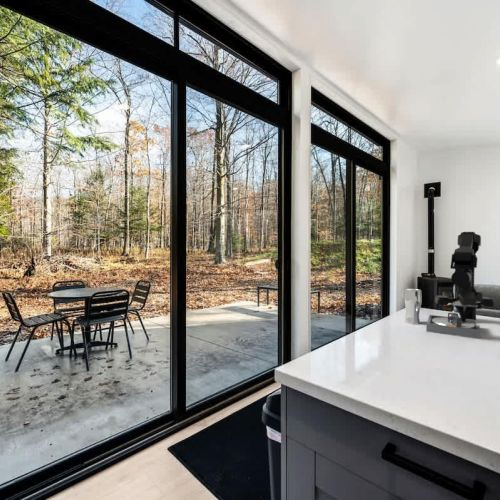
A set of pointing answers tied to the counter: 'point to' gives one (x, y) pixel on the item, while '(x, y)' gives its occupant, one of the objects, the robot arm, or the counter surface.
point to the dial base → (453, 328)
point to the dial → (453, 321)
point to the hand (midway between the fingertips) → (463, 322)
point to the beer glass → (412, 305)
